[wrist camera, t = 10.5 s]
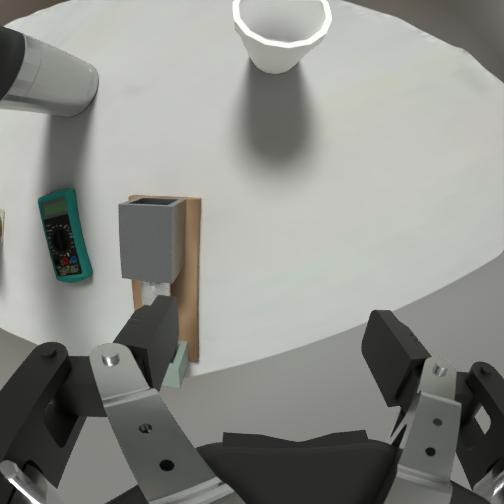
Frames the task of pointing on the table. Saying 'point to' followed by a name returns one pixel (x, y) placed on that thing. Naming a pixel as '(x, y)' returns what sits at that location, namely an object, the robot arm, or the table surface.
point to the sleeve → (152, 238)
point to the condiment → (1, 225)
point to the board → (184, 279)
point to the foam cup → (280, 30)
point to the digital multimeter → (64, 236)
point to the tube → (154, 294)
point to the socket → (177, 366)
